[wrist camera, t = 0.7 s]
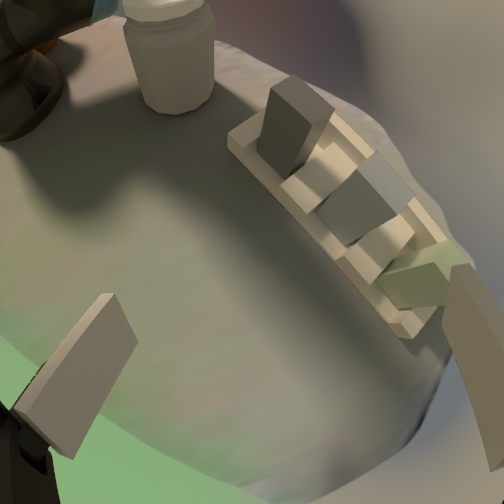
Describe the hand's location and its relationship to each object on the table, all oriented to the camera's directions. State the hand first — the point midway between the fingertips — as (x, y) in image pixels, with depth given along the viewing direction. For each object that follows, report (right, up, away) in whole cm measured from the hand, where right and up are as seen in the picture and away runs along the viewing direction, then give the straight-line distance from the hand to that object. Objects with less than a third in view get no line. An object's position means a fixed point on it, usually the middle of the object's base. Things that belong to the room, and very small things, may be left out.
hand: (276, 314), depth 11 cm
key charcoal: (+3, +13, +25) cm, 28 cm away
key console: (+10, +7, +25) cm, 28 cm away
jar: (-11, +24, +27) cm, 38 cm away
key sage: (+16, -2, +23) cm, 28 cm away
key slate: (+9, +6, +24) cm, 26 cm away
